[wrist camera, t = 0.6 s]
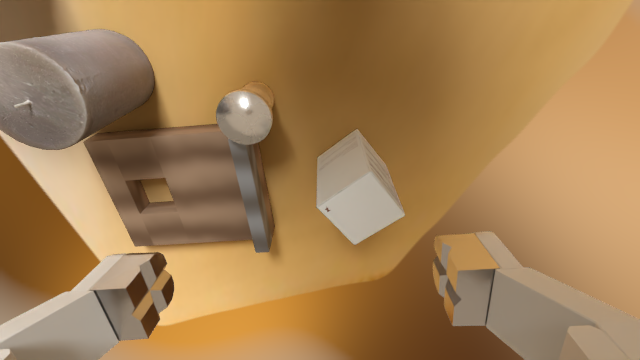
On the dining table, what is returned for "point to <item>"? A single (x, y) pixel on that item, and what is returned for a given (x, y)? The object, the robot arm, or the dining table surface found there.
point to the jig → (186, 185)
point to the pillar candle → (70, 85)
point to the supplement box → (356, 189)
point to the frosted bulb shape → (246, 113)
